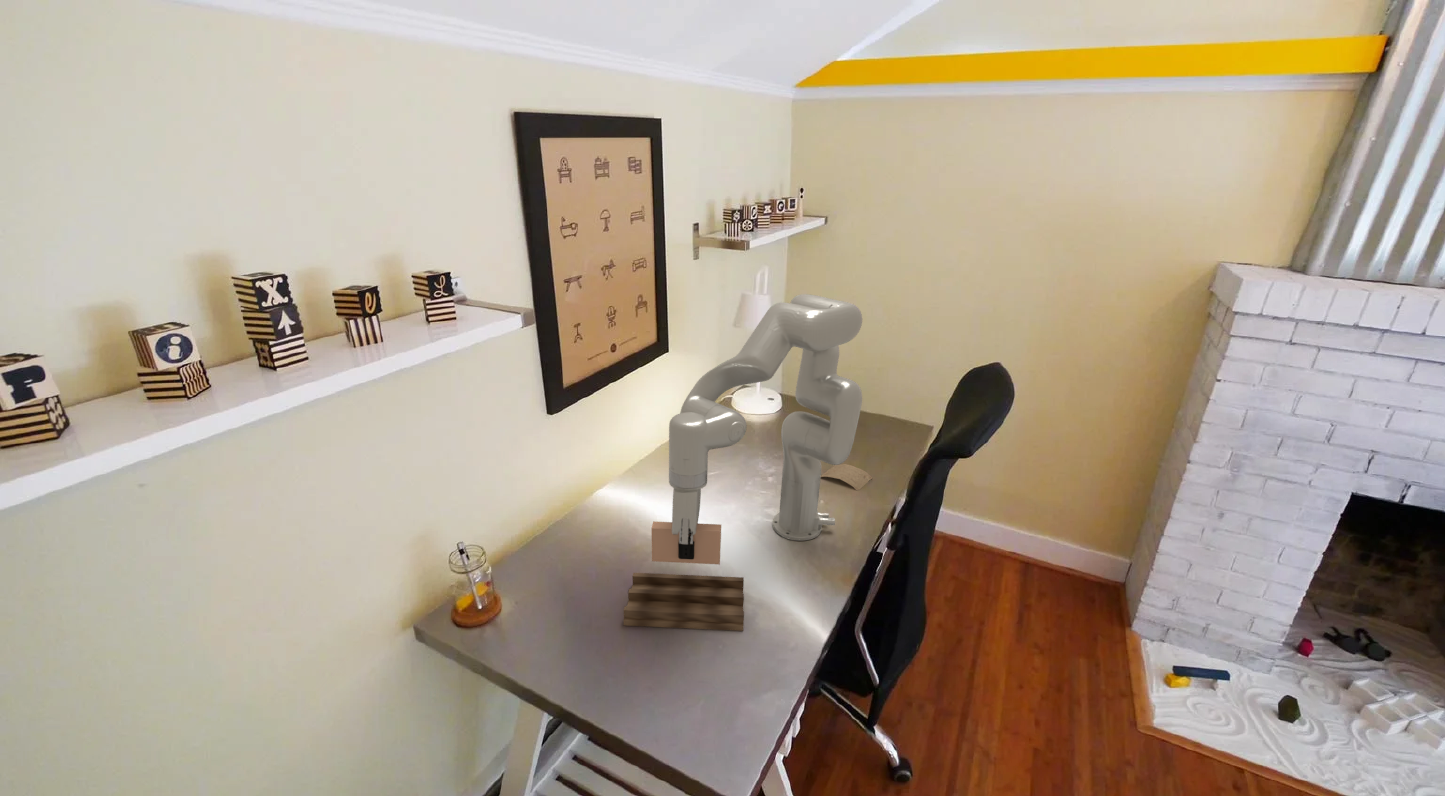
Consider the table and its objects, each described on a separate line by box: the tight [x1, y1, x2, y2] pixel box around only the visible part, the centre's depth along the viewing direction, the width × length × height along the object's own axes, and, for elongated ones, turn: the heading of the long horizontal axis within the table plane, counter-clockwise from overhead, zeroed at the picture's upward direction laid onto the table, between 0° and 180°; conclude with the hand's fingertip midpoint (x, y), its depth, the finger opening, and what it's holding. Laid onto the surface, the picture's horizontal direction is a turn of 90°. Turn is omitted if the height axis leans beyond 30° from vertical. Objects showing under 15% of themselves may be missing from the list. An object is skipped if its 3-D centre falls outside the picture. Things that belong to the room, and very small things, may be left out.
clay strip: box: [651, 521, 722, 566], centre depth 121 cm, size 14×2×8 cm, turn 88°
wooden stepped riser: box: [623, 572, 745, 632], centre depth 123 cm, size 24×12×4 cm, turn 88°
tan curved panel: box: [821, 463, 873, 491], centre depth 177 cm, size 14×10×3 cm
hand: (686, 552), depth 122 cm, fingers closed on clay strip, 2 cm apart
